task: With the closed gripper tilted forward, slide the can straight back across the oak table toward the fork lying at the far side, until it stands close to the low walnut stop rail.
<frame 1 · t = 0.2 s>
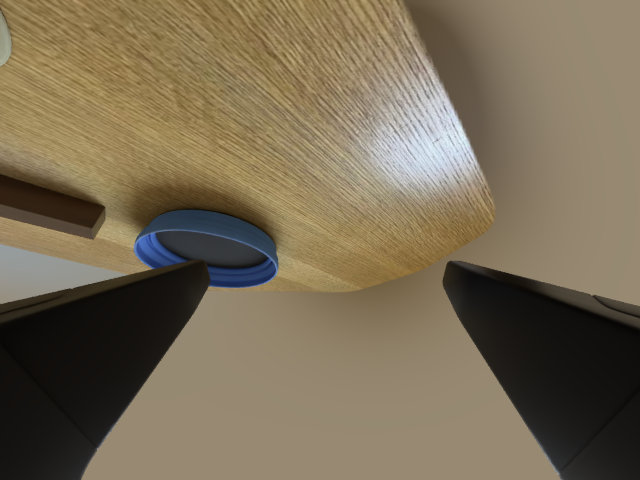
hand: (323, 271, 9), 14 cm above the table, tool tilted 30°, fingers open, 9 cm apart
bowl: (217, 242, 35), on the table
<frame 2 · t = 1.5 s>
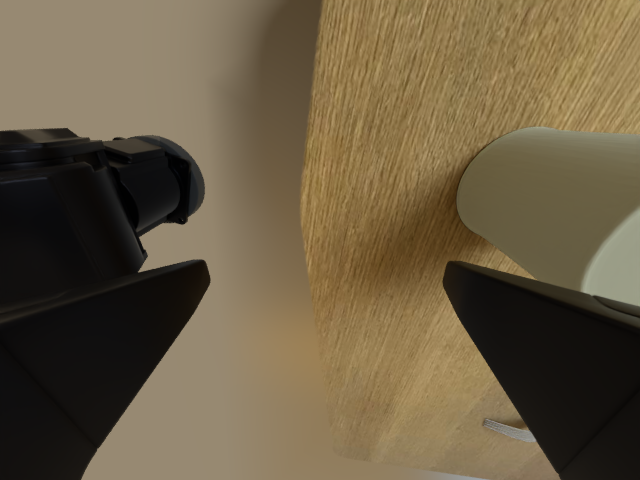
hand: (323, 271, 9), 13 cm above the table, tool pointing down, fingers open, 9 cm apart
can: (512, 187, 20), on the table
fork: (560, 417, 34), on the table
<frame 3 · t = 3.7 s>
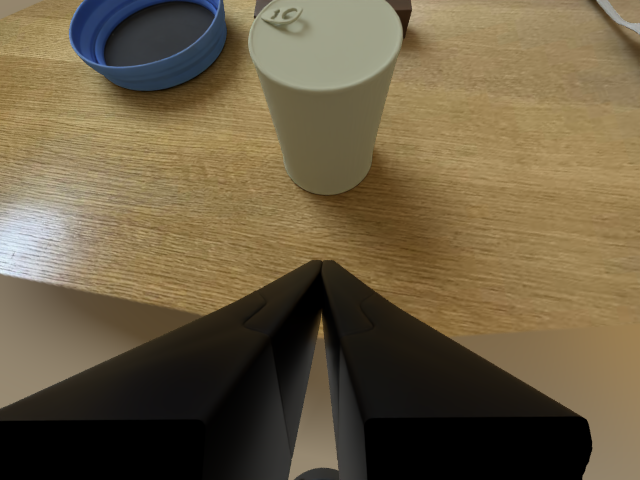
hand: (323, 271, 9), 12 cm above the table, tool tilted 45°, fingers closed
stop rail: (331, 33, 30), on the table
can: (327, 157, 25), on the table
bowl: (166, 45, 31), on the table
fork: (605, 23, 29), on the table
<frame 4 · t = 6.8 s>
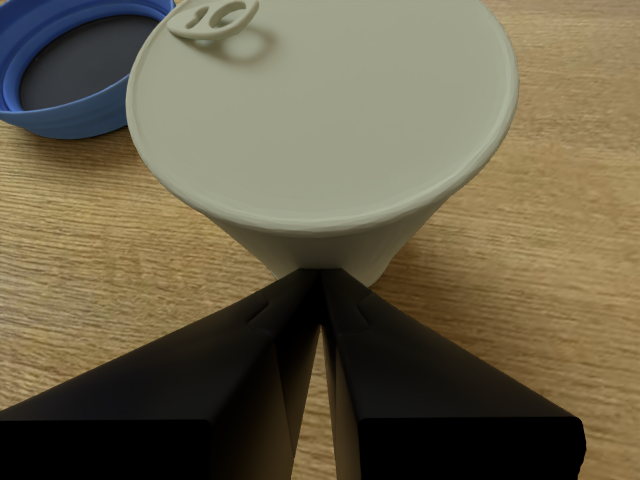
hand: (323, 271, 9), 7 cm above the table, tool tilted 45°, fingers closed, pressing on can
can: (327, 233, 17), on the table, touching gripper
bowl: (106, 73, 23), on the table
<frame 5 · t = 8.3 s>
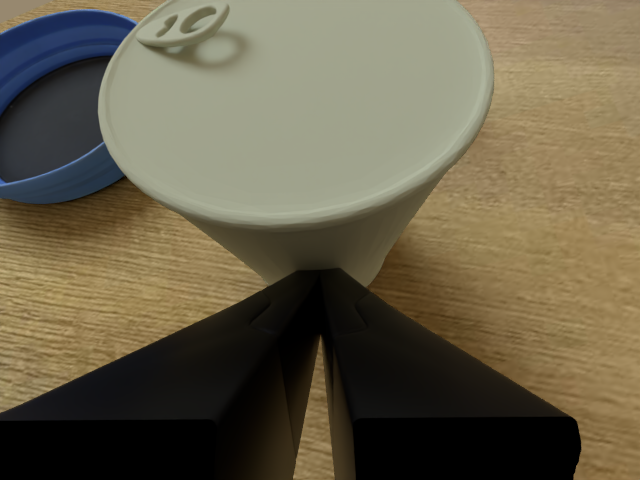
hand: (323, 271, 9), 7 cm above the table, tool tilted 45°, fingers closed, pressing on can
can: (318, 237, 16), on the table, touching gripper
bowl: (87, 122, 21), on the table
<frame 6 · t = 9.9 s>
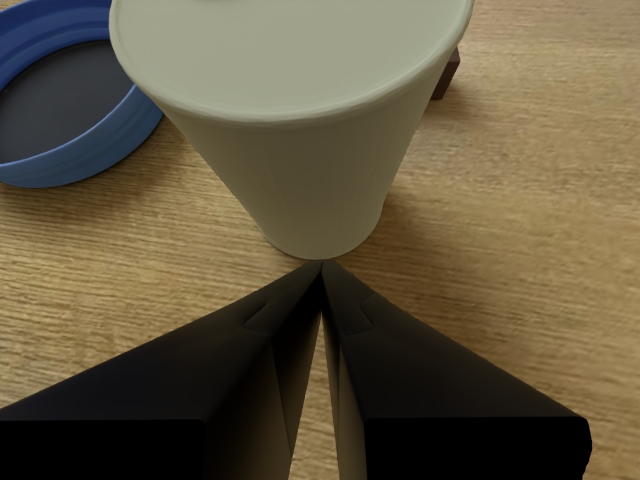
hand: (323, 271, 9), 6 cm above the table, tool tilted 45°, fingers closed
stop rail: (329, 89, 20), on the table
can: (317, 198, 17), on the table
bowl: (82, 107, 21), on the table
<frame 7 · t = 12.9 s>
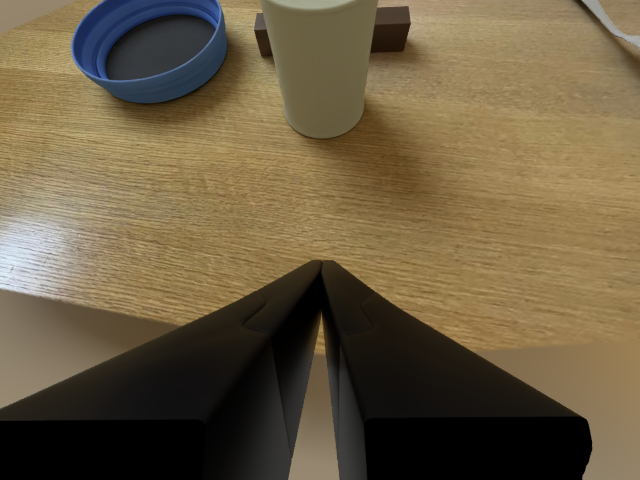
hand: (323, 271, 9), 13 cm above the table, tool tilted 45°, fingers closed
stop rail: (331, 45, 31), on the table
can: (323, 108, 28), on the table
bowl: (167, 58, 32), on the table
fork: (603, 35, 29), on the table
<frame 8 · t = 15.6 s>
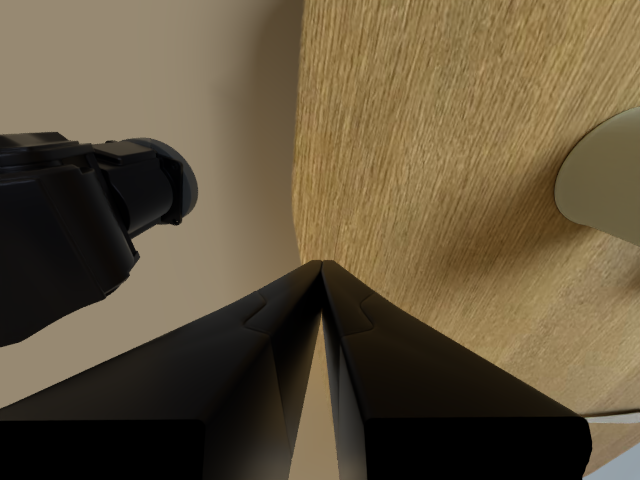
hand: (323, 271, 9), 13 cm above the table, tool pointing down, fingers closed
can: (616, 170, 19), on the table
fork: (565, 413, 34), on the table
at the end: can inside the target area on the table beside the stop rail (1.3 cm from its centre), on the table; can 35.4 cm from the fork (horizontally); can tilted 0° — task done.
